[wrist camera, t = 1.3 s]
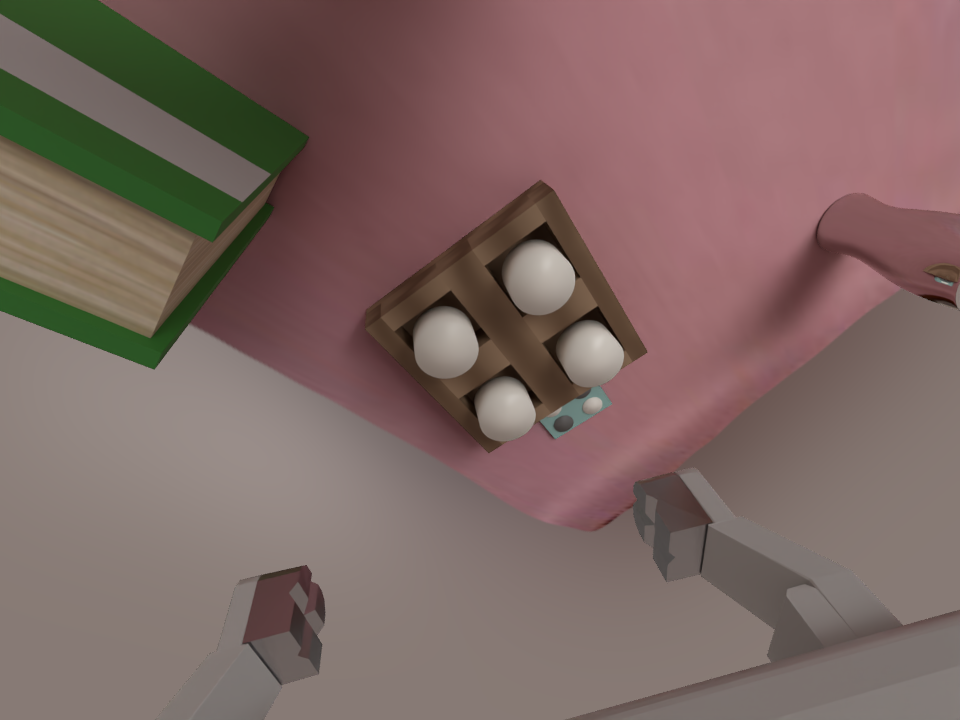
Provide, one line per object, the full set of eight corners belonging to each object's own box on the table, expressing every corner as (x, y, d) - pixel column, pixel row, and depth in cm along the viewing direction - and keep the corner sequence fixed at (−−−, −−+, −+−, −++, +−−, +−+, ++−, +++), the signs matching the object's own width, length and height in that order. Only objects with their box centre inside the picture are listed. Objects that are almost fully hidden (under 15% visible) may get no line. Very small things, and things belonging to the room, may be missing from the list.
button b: (449, 294, 43) (453, 310, 40) (484, 336, 46) (490, 355, 43) (400, 329, 44) (401, 348, 41) (437, 369, 47) (440, 389, 44)
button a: (543, 226, 41) (554, 238, 38) (573, 275, 44) (586, 289, 41) (489, 265, 42) (497, 279, 39) (522, 310, 45) (531, 327, 42)
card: (588, 369, 54) (590, 372, 54) (610, 401, 57) (612, 404, 57) (529, 407, 56) (530, 410, 55) (554, 437, 59) (555, 440, 59)
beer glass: (810, 264, 52) (946, 329, 39) (813, 203, 48) (963, 254, 36) (873, 240, 52) (1030, 297, 39) (880, 176, 48) (1057, 217, 35)
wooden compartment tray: (540, 179, 43) (553, 190, 39) (631, 333, 53) (647, 352, 49) (366, 309, 46) (365, 329, 43) (482, 429, 56) (488, 453, 53)
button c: (594, 309, 46) (608, 325, 43) (618, 348, 49) (633, 365, 46) (545, 341, 47) (556, 360, 44) (572, 378, 50) (583, 397, 47)
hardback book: (309, 137, 38) (222, 221, 18) (269, 216, 41) (154, 369, 20) (44, -35, 31) (-617, -222, 10) (16, 76, 33) (-557, 98, 13)
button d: (508, 366, 48) (516, 385, 45) (536, 400, 51) (545, 421, 48) (463, 397, 49) (468, 417, 46) (493, 428, 52) (499, 450, 49)
